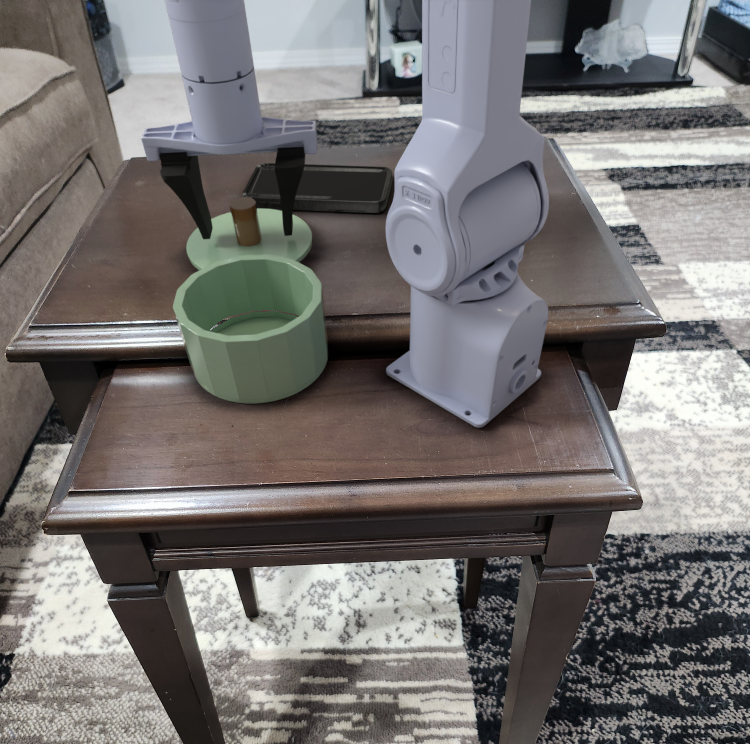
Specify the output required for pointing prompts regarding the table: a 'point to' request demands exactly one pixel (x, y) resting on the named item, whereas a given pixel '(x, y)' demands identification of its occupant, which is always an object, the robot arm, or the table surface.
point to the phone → (325, 188)
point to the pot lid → (249, 235)
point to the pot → (253, 327)
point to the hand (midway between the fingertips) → (248, 232)
